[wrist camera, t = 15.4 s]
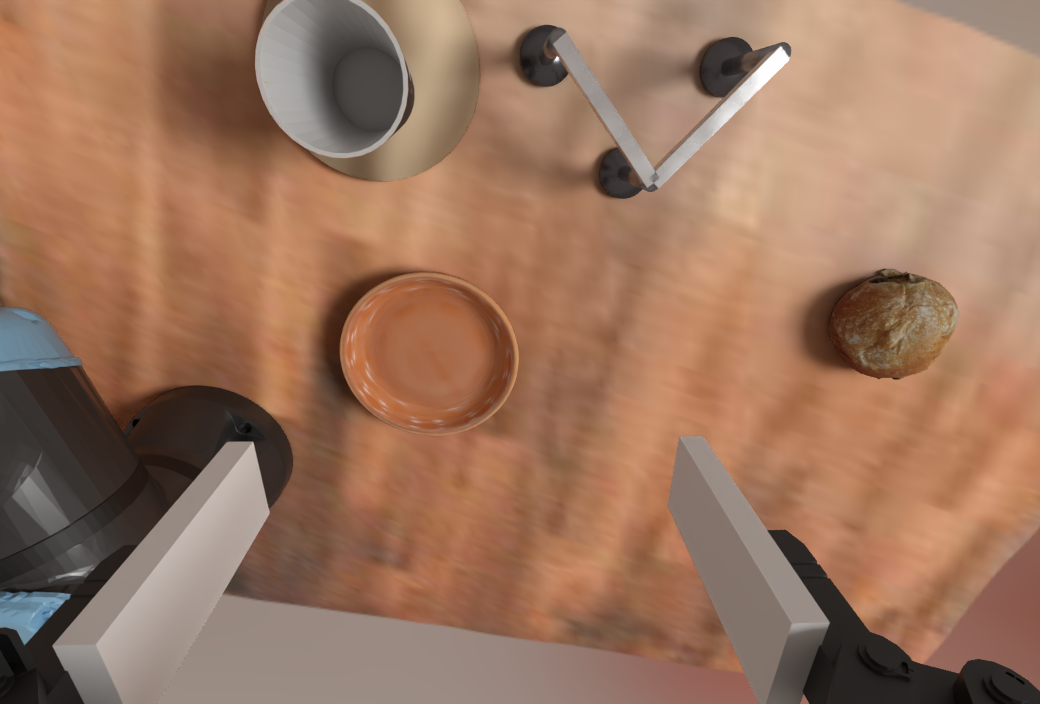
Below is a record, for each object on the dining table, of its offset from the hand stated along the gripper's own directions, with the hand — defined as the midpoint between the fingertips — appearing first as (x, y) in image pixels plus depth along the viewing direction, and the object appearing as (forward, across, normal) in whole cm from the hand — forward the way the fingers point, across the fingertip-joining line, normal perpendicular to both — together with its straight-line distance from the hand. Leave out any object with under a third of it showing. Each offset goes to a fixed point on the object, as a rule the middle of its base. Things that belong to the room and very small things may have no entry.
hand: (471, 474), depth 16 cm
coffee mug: (+31, -8, +14) cm, 35 cm away
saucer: (+32, -5, -9) cm, 33 cm away
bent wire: (+31, +12, +11) cm, 35 cm away
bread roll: (+31, +38, -6) cm, 49 cm away
